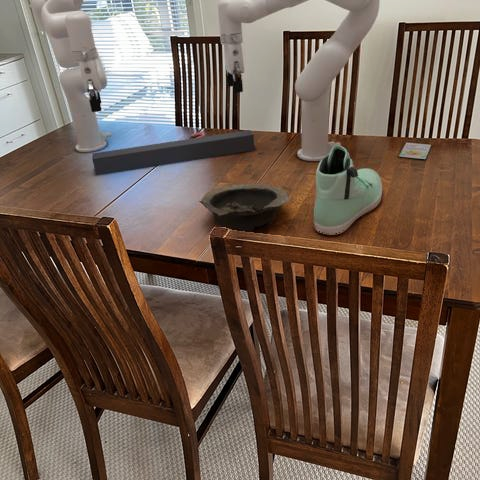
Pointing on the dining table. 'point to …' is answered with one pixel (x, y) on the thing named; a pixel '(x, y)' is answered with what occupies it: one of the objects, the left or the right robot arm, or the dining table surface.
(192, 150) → the beam
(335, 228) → the sneaker
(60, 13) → the left robot arm
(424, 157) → the baking ingredient package
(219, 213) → the stone bowl
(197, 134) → the red elongated piece
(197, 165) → the dining table surface
